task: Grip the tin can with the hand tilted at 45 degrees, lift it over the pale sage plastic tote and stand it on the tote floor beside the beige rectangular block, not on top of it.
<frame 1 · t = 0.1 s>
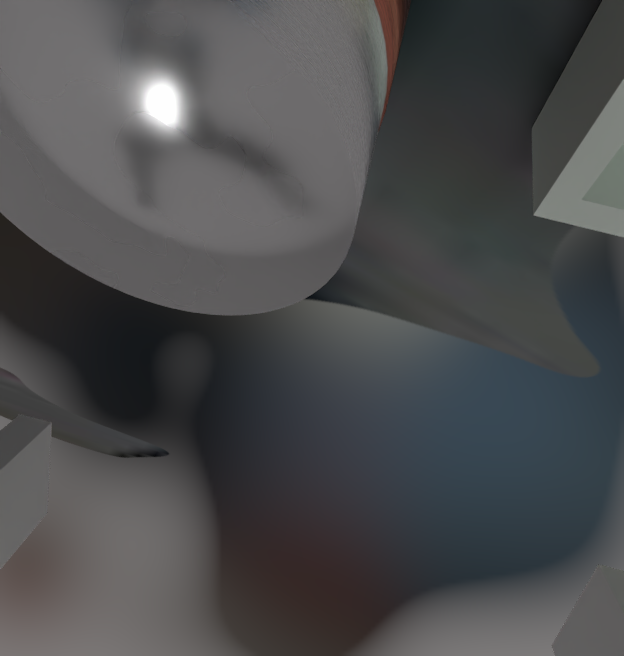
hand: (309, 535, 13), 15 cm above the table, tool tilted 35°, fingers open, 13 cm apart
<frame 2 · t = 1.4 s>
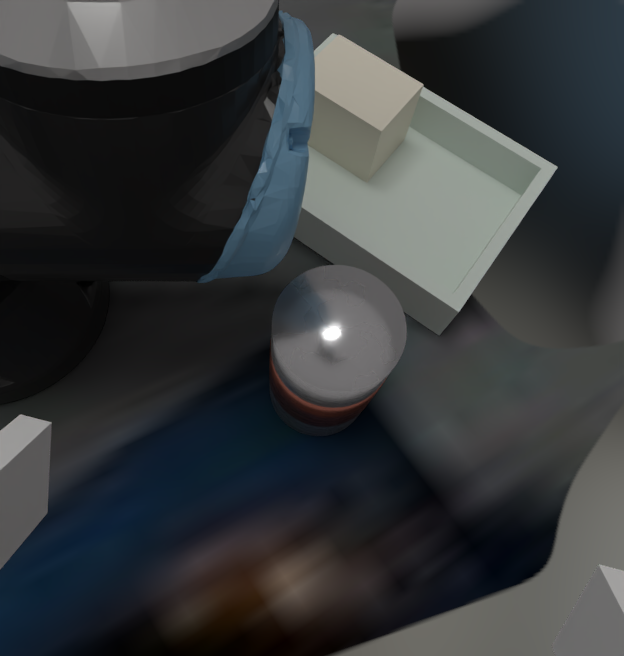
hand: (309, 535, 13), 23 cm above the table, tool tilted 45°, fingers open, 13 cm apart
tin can: (317, 387, 38), on the table
tote: (377, 192, 45), on the table
beige rectangular block: (347, 136, 46), point 1 cm above the table, touching tote
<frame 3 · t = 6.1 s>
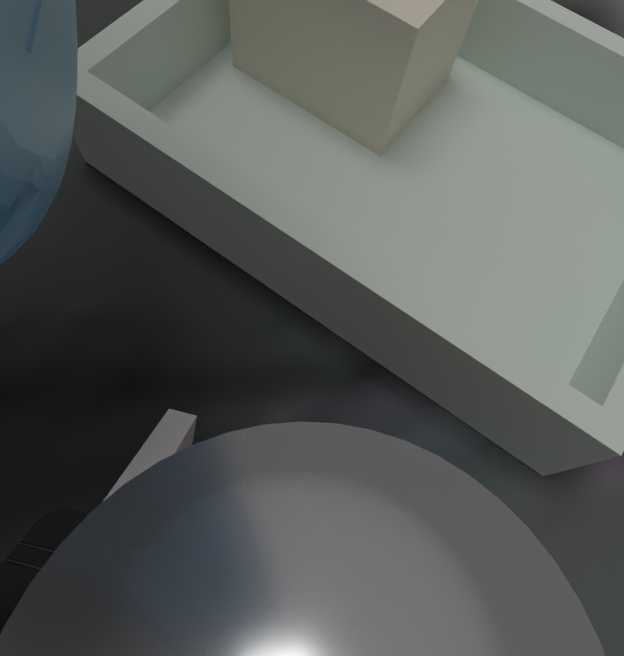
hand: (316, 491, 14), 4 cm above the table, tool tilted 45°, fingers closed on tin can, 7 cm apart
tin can: (279, 618, 16), on the table, touching gripper
tote: (400, 176, 24), on the table
beige rectangular block: (342, 71, 24), point 1 cm above the table, touching tote
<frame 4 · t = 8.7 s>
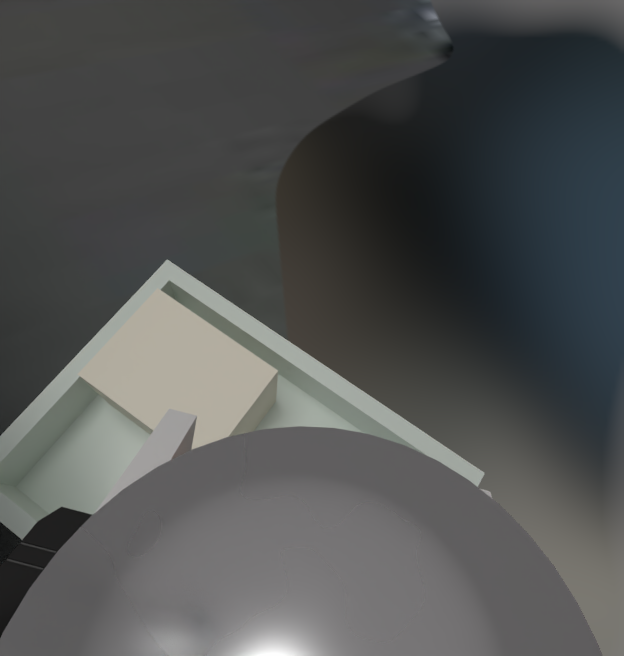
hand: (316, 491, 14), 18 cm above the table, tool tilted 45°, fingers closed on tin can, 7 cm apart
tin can: (278, 620, 16), point 14 cm above the table, touching gripper
tote: (235, 487, 32), on the table
beige rectangular block: (194, 402, 32), point 1 cm above the table, touching tote
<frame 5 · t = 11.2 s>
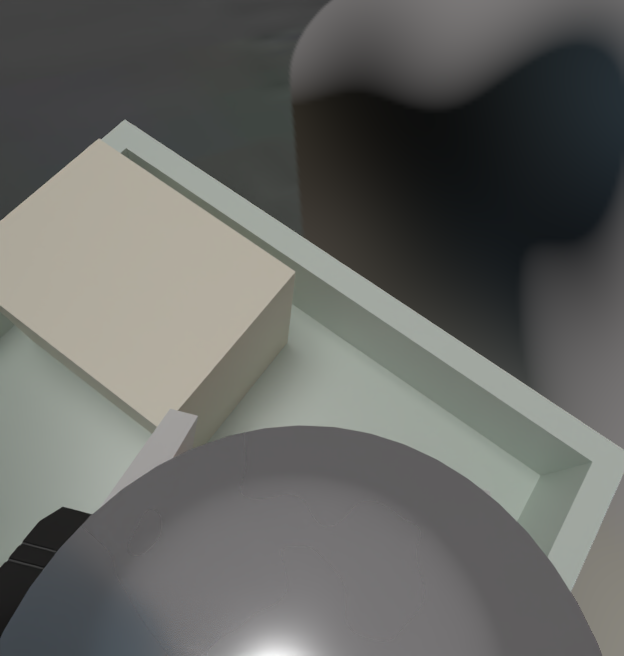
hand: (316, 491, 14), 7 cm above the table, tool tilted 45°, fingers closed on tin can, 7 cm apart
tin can: (278, 620, 16), point 2 cm above the table, touching gripper
tote: (222, 472, 20), on the table
beige rectangular block: (162, 341, 21), point 1 cm above the table, touching gripper, tote
when the fingers open (7 cm above the table, at t = 11.4 s): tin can drops 1 cm, resting on tote.
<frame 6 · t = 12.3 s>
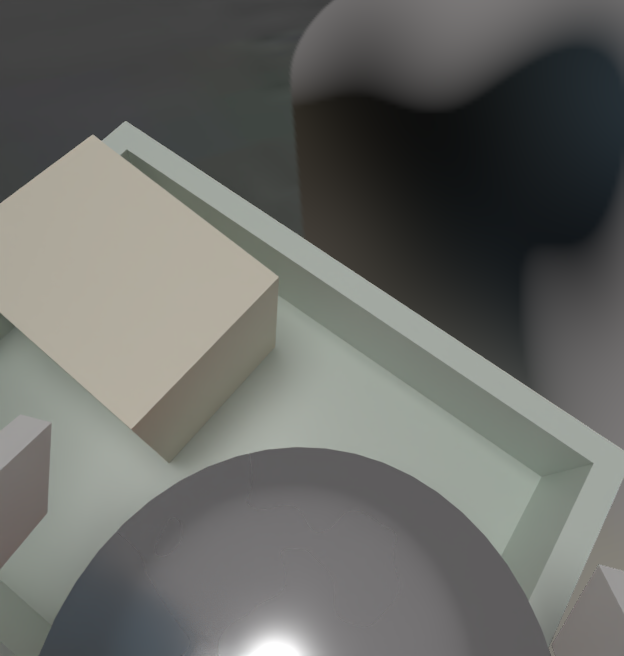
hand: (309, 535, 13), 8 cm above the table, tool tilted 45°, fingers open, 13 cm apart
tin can: (277, 616, 18), point 1 cm above the table, touching tote
tote: (222, 473, 20), on the table
beige rectangular block: (150, 339, 21), point 1 cm above the table, touching tote
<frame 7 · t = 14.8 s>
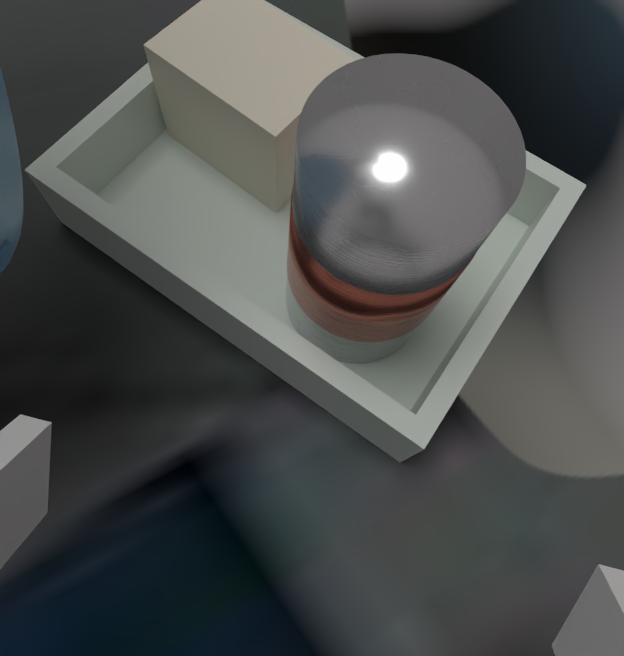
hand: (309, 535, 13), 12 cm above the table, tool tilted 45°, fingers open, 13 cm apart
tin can: (353, 298, 27), point 1 cm above the table, touching tote
tote: (309, 227, 30), on the table
beige rectangular block: (255, 140, 30), point 1 cm above the table, touching tote
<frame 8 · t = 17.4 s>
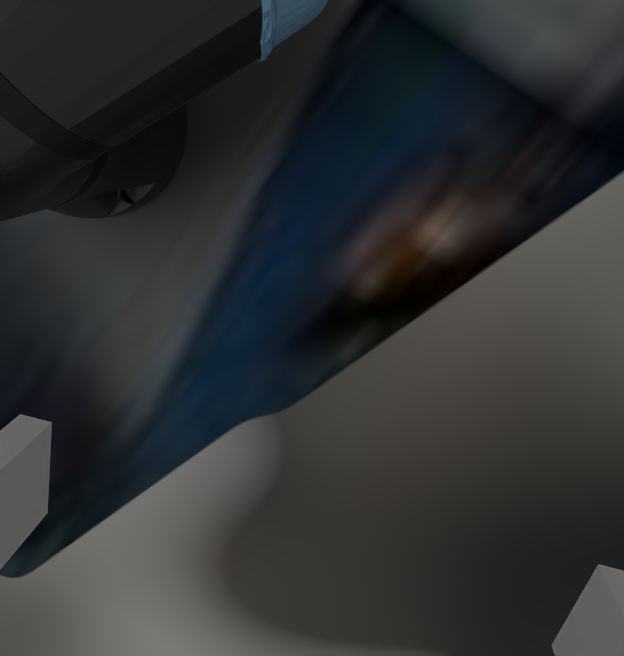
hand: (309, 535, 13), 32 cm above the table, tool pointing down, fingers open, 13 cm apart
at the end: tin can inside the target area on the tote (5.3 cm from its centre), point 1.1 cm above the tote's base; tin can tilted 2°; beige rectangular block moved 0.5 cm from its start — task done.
